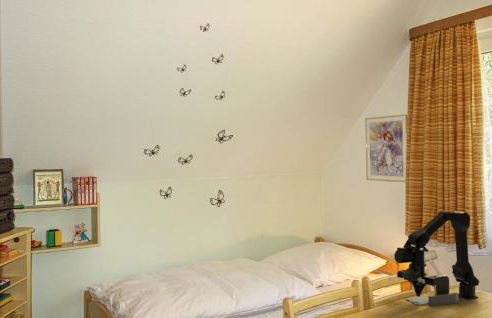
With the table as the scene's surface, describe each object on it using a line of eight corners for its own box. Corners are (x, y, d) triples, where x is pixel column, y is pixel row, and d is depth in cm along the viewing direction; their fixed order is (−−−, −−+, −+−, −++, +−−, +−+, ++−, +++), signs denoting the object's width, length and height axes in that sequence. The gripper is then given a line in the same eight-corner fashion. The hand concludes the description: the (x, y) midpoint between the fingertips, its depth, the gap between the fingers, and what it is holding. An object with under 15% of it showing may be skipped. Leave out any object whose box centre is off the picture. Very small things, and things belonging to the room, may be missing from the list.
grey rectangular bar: (455, 301, 188) (455, 292, 188) (459, 302, 186) (459, 293, 186) (428, 304, 183) (427, 295, 184) (431, 306, 181) (431, 297, 182)
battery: (444, 298, 193) (443, 273, 194) (450, 300, 190) (449, 275, 190) (431, 299, 191) (430, 274, 192) (437, 302, 188) (436, 276, 188)
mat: (423, 297, 195) (423, 296, 195) (437, 303, 186) (437, 301, 186) (405, 299, 192) (405, 298, 192) (419, 305, 183) (419, 304, 183)
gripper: (388, 260, 192) (389, 294, 192) (425, 268, 176) (426, 305, 176) (404, 257, 198) (404, 290, 198) (441, 264, 182) (441, 300, 182)
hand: (418, 296), depth 188 cm, fingers closed
